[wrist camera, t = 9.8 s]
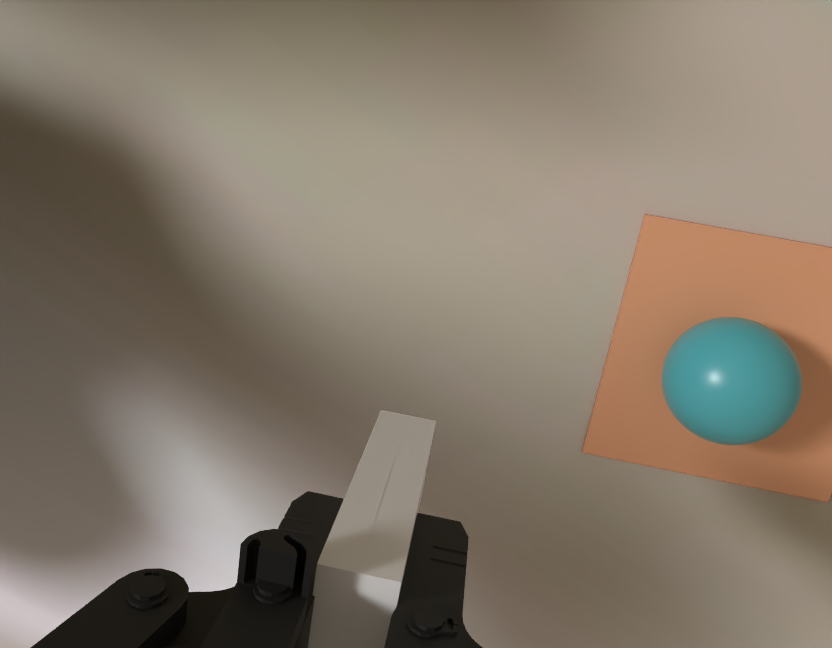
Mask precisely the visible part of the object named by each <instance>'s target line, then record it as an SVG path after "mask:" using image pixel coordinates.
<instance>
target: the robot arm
mask: <svg viewBox="0 0 832 648" xmlns="http://www.w3.org/2000/svg"><path fill="white" fill-rule="evenodd" d="M435 425H436V421H435V420H430V419H425V418H420V417H415V416H410V415H405V414H400V413H395V412H390V411H385V410H381V411H380V413H379V416H378V418H377V420H376V423H375V425H374V428H373V430H372V432H371V435H370V437H369V440H368V442H367V444H366V447H365V449H364V452H363V454H362V457H361V459H360V461H359V464H358V466H357V469H356V471H355V473H354V476H353V478H352V481H351V483H350V485H349V488H348V490H347V493H346V495H345V498H344V499H342V498H337V497H333V496H328V495H323V494H319V493H314V492H309V491H308V492H306V493H305V494H303V495H302V496H300V497H299V498H297V499H296V500H294V501H293V502H292V503H291V505H290V507H289V509H288V511H287V513H286V514H285V517H284V518H283V520H282V522H281V524H280V525H279V528H278V529H271V530H264V531H259V532H257V533H255V534H253V535H250V536H248V537H247V538H246V539H245V540H244V541H243V542H242V543H241V548H240V558H239V568H238V579H237V583H236V585H235V587H233V588H229V589H225V590H222V591H212V592H188V591H189V587H188V585H187V583H186V581H185V580H184V578H182V577H181V576H179V575H178V574H177V573H175V572H172V571H169V570H165V569H143V570H139V571H136V572H132V573H130V574H128V575H126V576H124V577H122V578H121V579H119V580H117V581H116V582H115V583H114V584H112V585H111V586H110V587H108V588H107V589H106V590H104V591H103V592H102V593H101V594H99V595H98V596H97V597H95V598H94V599H93V600H92V601H90V602H89V603H88V604H86V605H85V606H84V607H83V608H81V609H80V610H79V611H77V612H76V613H75V614H74V615H72V616H71V617H70V618H68V619H67V620H66V621H65V622H63V623H62V624H61V625H59V626H58V627H57V628H56V629H54V630H53V631H52V632H50V633H49V634H48V635H47V636H45V637H44V638H43V639H41V640H40V641H39V642H37V643H36V644H35V645H34V646H32V647H31V648H482V647H481V646H480V645H479V644H477V643H476V642H475V641H474V640H473V639H472V638H471V636H470V635H469V634H468V632H467V631H466V629H465V626H464V624H463V617H462V611H463V599H464V587H465V574H466V562H467V550H468V536H467V534H466V532H465V530H464V528H463V526H462V524H461V522H458V521H454V520H449V519H444V518H439V517H435V516H430V515H425V514H421V513H419V510H420V505H421V499H422V494H423V489H424V483H425V478H426V473H427V468H428V462H429V457H430V452H431V446H432V441H433V436H434V431H435Z"/></svg>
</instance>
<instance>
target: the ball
mask: <svg viewBox="0 0 832 648" xmlns="http://www.w3.org/2000/svg"><path fill="white" fill-rule="evenodd" d="M662 389H663V394H664V397H665V400H666V403H667V405H668V407H669V409H670V410H671V412H672V414H673V415H674V416H675V418H676V419H677V420H678V421H679V422H680V423H681V424H682V425H683V426H684V427H685V428H686V429H688V430H689V431H690V432H692V433H693V434H695V435H697V436H699V437H700V438H703V439H705V440H708V441H711V442H714V443H718V444H723V445H745V444H751V443H755V442H758V441H761V440H763V439H766V438H768V437H770V436H771V435H773V434H775V433H776V432H777V431H779V430H780V429H781V428H782V427H784V426H785V424H786V423H787V422H788V421H789V420H790V419H791V417H792V416H793V414H794V413H795V411H796V409H797V406H798V404H799V401H800V398H801V393H802V374H801V369H800V366H799V362H798V360H797V358H796V356H795V354H794V352H793V351H792V349H791V347H790V346H789V345H788V344H787V343H786V341H785V340H784V339H783V338H782V337H781V336H779V335H778V334H777V333H776V332H774V331H773V330H772V329H770V328H768V327H767V326H765V325H763V324H760V323H758V322H756V321H752V320H748V319H745V318H738V317H722V318H714V319H711V320H707V321H704V322H702V323H699V324H697V325H695V326H693V327H691V328H690V329H688V330H687V331H686V332H685V333H683V334H682V335H681V336H680V337H679V338H678V339H677V340H676V341H675V342H674V344H673V345H672V347H671V348H670V350H669V352H668V354H667V355H666V358H665V361H664V364H663V369H662Z"/></svg>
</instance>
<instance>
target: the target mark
mask: <svg viewBox="0 0 832 648" xmlns="http://www.w3.org/2000/svg"><path fill="white" fill-rule="evenodd" d="M722 317H738V318H745V319H748V320H752V321H756V322H758V323H760V324H763V325H765V326H767V327H768V328H770V329H772V330H773V331H774V332H776V333H777V334H778V335H779V336H781V337H782V338H783V339H784V340H785V341H786V343H787V344H788V345H789V346H790V347H791V349H792V351H793V352H794V354H795V356H796V358H797V360H798V362H799V366H800V369H801V374H802V393H801V398H800V401H799V404H798V406H797V409H796V411H795V413H794V414H793V416H792V417H791V419H790V420H789V421H788V422H787V423H786V424H785V426H784V427H782V428H781V429H780V430H779V431H777V432H776V433H775V434H773V435H771V436H770V437H768V438H766V439H763V440H761V441H758V442H755V443H751V444H745V445H723V444H718V443H714V442H711V441H708V440H705V439H703V438H700V437H699V436H697V435H695V434H693V433H692V432H690V431H689V430H688V429H686V428H685V427H684V426H683V425H682V424H681V423H680V422H679V421H678V420H677V419H676V418H675V416H674V415H673V414H672V412H671V410H670V409H669V407H668V405H667V403H666V400H665V397H664V394H663V389H662V369H663V364H664V361H665V358H666V355H667V354H668V352H669V350H670V348H671V347H672V345H673V344H674V342H675V341H676V340H677V339H678V338H679V337H680V336H681V335H682V334H683V333H685V332H686V331H687V330H688V329H690V328H691V327H693V326H695V325H697V324H699V323H702V322H704V321H707V320H711V319H714V318H722ZM582 453H587V454H591V455H596V456H601V457H606V458H611V459H616V460H621V461H626V462H631V463H636V464H641V465H646V466H651V467H656V468H660V469H665V470H670V471H675V472H680V473H685V474H690V475H695V476H700V477H705V478H710V479H715V480H720V481H725V482H730V483H734V484H739V485H744V486H749V487H754V488H759V489H764V490H769V491H774V492H779V493H784V494H789V495H794V496H799V497H803V498H808V499H813V500H818V501H823V502H829V499H830V497H831V494H832V247H826V246H821V245H815V244H809V243H804V242H798V241H793V240H787V239H781V238H776V237H770V236H765V235H759V234H753V233H748V232H742V231H737V230H731V229H725V228H720V227H714V226H708V225H703V224H697V223H692V222H686V221H680V220H675V219H669V218H664V217H658V216H652V215H647V214H645V216H644V220H643V224H642V228H641V231H640V235H639V239H638V243H637V246H636V250H635V254H634V258H633V261H632V265H631V269H630V273H629V276H628V280H627V284H626V288H625V291H624V295H623V299H622V303H621V306H620V310H619V314H618V318H617V321H616V325H615V329H614V333H613V336H612V340H611V344H610V348H609V351H608V355H607V359H606V363H605V366H604V370H603V374H602V378H601V381H600V385H599V389H598V393H597V396H596V400H595V404H594V408H593V411H592V415H591V419H590V423H589V426H588V430H587V434H586V438H585V441H584V445H583V449H582Z"/></svg>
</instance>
